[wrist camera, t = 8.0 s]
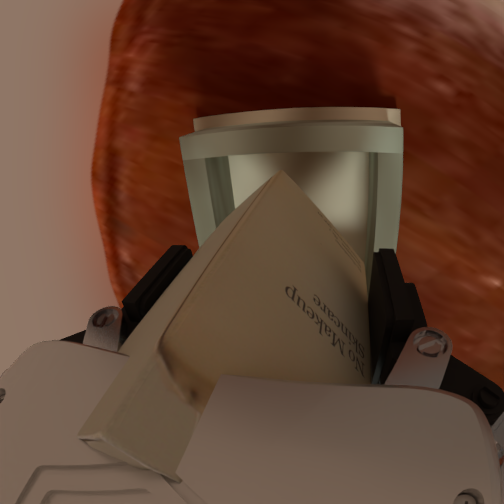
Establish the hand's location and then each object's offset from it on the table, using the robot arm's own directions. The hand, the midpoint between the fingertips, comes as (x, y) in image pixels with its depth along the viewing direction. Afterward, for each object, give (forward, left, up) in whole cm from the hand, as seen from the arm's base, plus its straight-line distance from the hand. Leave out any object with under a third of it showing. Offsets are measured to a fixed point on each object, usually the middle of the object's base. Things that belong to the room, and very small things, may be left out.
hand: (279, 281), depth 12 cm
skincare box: (0, 0, -3) cm, 3 cm away
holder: (0, 0, -9) cm, 9 cm away
